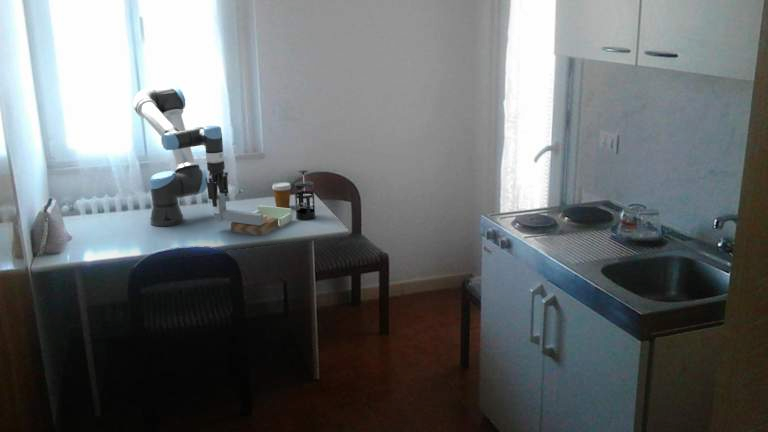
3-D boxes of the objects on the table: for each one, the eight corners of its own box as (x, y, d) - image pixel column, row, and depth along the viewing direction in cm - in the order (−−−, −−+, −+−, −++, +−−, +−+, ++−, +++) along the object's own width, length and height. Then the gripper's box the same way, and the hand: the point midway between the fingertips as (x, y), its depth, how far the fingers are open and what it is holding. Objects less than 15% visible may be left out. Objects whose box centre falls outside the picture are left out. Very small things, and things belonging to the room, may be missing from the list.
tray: (248, 223, 335) (247, 210, 333) (259, 217, 344) (259, 205, 342) (281, 227, 328) (280, 214, 326) (292, 220, 337) (291, 208, 335)
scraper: (214, 220, 324) (212, 194, 320) (219, 217, 327) (217, 192, 324) (259, 225, 314) (257, 199, 311) (264, 223, 318) (262, 197, 314)
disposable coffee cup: (291, 210, 354) (289, 186, 350) (271, 210, 354) (270, 187, 351) (293, 204, 363) (292, 181, 360) (274, 205, 363) (273, 182, 360)
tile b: (251, 223, 320) (251, 217, 319) (257, 220, 325) (257, 214, 324) (261, 224, 318) (260, 218, 318) (267, 221, 323) (266, 215, 322)
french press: (319, 219, 339) (316, 171, 332) (300, 222, 335) (297, 174, 328) (310, 212, 349) (307, 166, 342) (291, 215, 345) (289, 169, 338)
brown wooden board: (231, 231, 324) (230, 222, 322) (247, 223, 335) (246, 214, 334) (263, 235, 317) (262, 226, 316) (278, 226, 328) (278, 218, 327)
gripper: (210, 165, 308) (215, 217, 315) (233, 157, 323) (237, 207, 330) (196, 164, 311) (201, 216, 318) (220, 156, 326) (224, 205, 333)
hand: (220, 211), depth 324 cm, fingers closed on scraper, 4 cm apart
